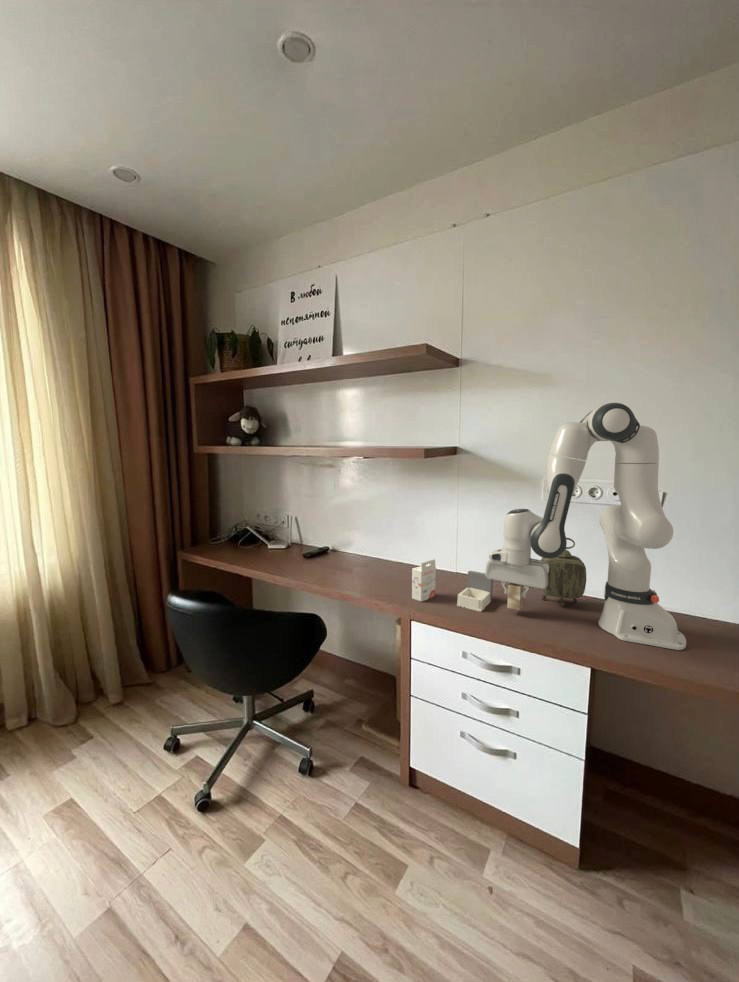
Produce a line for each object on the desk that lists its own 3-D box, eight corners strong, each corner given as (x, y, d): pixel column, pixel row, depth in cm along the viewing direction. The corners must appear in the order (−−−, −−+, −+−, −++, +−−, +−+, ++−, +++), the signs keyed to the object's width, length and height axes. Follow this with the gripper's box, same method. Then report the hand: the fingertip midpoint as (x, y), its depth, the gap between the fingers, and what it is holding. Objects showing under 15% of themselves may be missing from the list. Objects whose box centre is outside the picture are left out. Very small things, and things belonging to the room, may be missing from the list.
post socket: (492, 600, 146) (493, 575, 145) (481, 611, 137) (482, 584, 136) (468, 595, 152) (469, 570, 150) (456, 605, 142) (457, 578, 141)
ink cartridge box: (425, 592, 154) (426, 556, 152) (435, 596, 150) (436, 559, 149) (410, 598, 148) (411, 560, 147) (421, 602, 145) (422, 563, 143)
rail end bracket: (522, 605, 136) (523, 583, 135) (519, 610, 132) (520, 587, 131) (511, 603, 138) (511, 581, 137) (507, 607, 135) (508, 585, 134)
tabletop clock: (579, 601, 146) (584, 536, 144) (585, 611, 138) (590, 542, 135) (537, 597, 150) (541, 533, 147) (541, 606, 142) (545, 539, 139)
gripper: (551, 558, 130) (549, 599, 131) (490, 550, 141) (489, 587, 143) (547, 563, 125) (545, 605, 126) (484, 553, 136) (483, 592, 138)
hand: (515, 595), depth 135 cm, fingers closed on rail end bracket, 4 cm apart
